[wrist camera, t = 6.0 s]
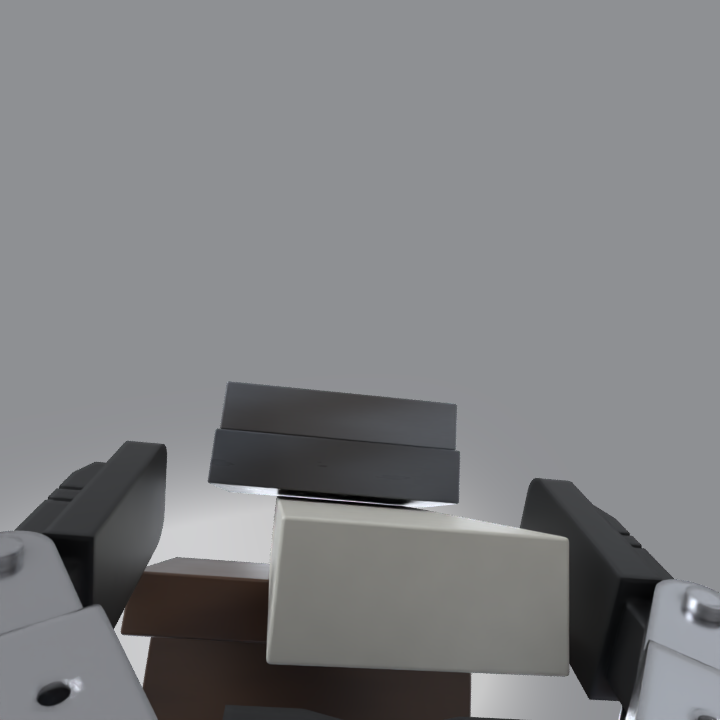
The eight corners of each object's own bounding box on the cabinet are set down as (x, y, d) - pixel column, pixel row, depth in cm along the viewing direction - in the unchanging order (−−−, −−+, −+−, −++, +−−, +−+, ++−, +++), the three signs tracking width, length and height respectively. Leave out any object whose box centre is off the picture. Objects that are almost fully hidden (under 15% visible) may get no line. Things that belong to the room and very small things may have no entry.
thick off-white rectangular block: (265, 665, 8) (282, 515, 8) (269, 556, 19) (276, 495, 19) (571, 678, 8) (570, 537, 9) (399, 564, 19) (403, 505, 20)
